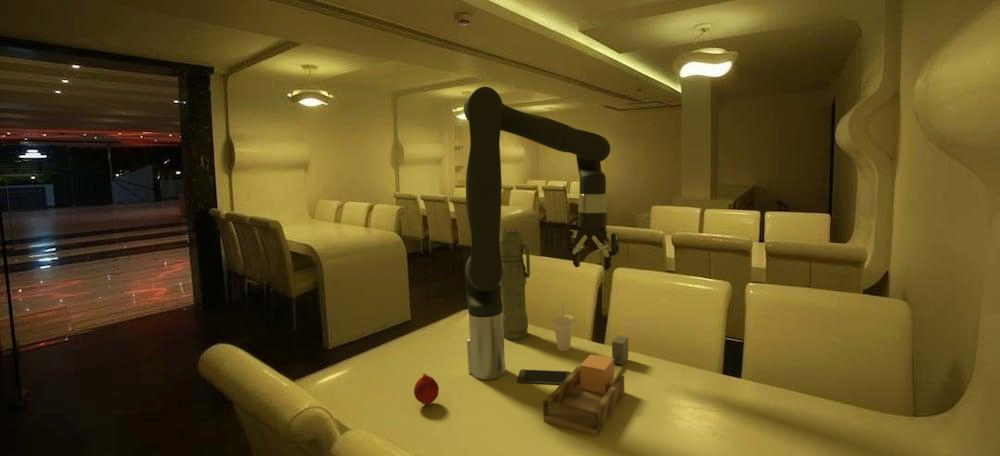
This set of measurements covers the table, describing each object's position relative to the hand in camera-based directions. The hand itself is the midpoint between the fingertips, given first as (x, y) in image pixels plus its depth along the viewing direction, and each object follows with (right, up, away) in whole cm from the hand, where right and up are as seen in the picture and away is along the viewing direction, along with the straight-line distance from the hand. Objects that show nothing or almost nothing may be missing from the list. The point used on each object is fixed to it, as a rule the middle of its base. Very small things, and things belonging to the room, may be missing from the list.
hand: (591, 268), depth 127 cm
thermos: (-21, -25, +25) cm, 41 cm away
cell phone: (-14, -29, -6) cm, 33 cm away
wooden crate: (-6, -30, -21) cm, 37 cm away
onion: (-43, -31, -17) cm, 56 cm away
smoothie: (-6, -26, +13) cm, 29 cm away
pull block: (+3, -27, -7) cm, 28 cm away
